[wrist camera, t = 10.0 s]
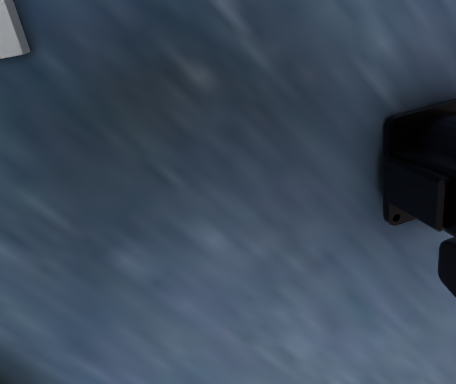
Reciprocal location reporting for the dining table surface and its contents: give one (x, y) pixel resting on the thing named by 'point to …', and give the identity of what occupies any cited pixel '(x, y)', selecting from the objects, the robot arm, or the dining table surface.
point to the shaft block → (11, 31)
